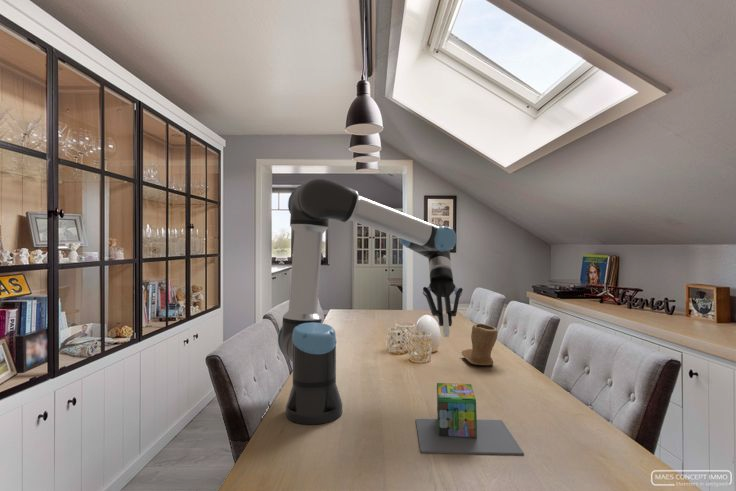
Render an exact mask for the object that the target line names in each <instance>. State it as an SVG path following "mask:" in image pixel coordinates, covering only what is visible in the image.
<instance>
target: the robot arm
mask: <svg viewBox="0 0 736 491" xmlns="http://www.w3.org/2000/svg"><path fill="white" fill-rule="evenodd" d="M287 208H288V211H289V214H290V220H289V227H290V228H291V229H292V230H293V232H294V233H293V234H294V236H293V245H292V246H293V248H292V262H291V273H290V286H289V287H290V288H289V300H288V302H289V303H288V310H287V312H285V313H284V314H283V315H282V324H281V328H280V329H279V331H278V334H277V343H278V348H279V350H280V351H281V353H282V355H284V357H285V358H286V359H288V360H289V361H290V362H291V363H292V386H291V389H290V392H289V396H288V399H287V402H286V405H285V417H286V419H288V420H289V421H291V422H292V423H296V424H299V425H300V424H301V425H321V424H325V423H330V422H333V421H335V420H338V418H340V417H341V416H342V414H343V402H342V399H341V396H340V393H339V392H340V391H339V388H338V386H337V378H336V377H337V338H336V336H337V335H336V331H335V329H334V328H333V327H332V326H331V325H329V324H326V323H322V316H321V315H320V313H318V307H319V305H318V304H319V303H318V301H319V290H320V289H319V288H320V278H321V276H320V275H321V264H322V263H321V262H322V251H323V250H322V248H323V234H324V233H325V232H326V231H328V229H329V221H330V220H336V221H340V222H343V223H348V222H350V221H351V222H353V223H356V224H359V225H362V226H363V227H367V228H370V229H373V230H376V231H379V232H382V233H384V234H386V235H387V234H388V235H390V236H393V237H396V238H398V241H399V243H400V245H402V246H404V247H405V248H407V249H409V250H412V251H414V252H415V253H417V254H419V255H421V256H423V257H424V258H427V259H428V265H429V266H428V268H429V284H428V285H429V286H427V287H426V286H424V287H423V288H422V295H424V297H425V298H426V301H427V304H428V306H429V309H430V313H431V316H433V317H437V319H438V325H439V327H442V334H443V338H449V336H450V327H452V325H453V318H452V317H456V316H457V313H458V312H457V311H458V307H459V301H460V298H461V296H462V295H463V294H462V293H463V290H464V289H463V287H459V288H458V287H456V284H455V282H454V277H453V268H452V261H451V260H452V259H451V251H450V250H452V249H454V247H455V246H456V243H457V233H456V232H455V230H454V229H453V228H452V227H450V226H443V225H442V226H438V225H435V224H433V223H430V222H427V221H424V220H422V219H419V218H417V217H414V216H413V215H410V214H407V213H405V212H402V211H399V210H397V209H394V208H392V207H390V206H387V205H384V204H381V203H379V202H377V201H374V200H371V199H368V198H367V197H363V196H362V195H359V193H358V190H355V189H353V188H350V187H348V186H346V185H343V184H341V183H338V182H336V181H333V180H330V179H325V178H314V179H310V180H309V181H307V182H306V183H303V184H301V185H298V186H297V187H295V188H294V189H293V191H292V192H291V194H290V195H289V197H288V201H287ZM431 292H432V293H431ZM453 293H454V295H455V297H454V301H453V302H454V303H453V308H451V307H452V305H451V298H450V296H451V295H452V294H453ZM432 294H433V295H435V296H436V298H435V299H436V303H437V304H435V301H434V299H433V295H432ZM442 298H444V304H445V313H443V312H444V311H443V300H442Z"/></svg>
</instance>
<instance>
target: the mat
mask: <svg viewBox="0 0 736 491" xmlns="http://www.w3.org/2000/svg"><path fill="white" fill-rule="evenodd" d="M415 425H416V430H417V438H418V442H419V443H418V445H419V450H420V454H454V455H455V454H461V455H501V456H502V455H507V456H508V455H509V456H514V455H515V456H524V455H525V453H524V450H522V448H521V446H520V445H519V444H518V441H517V440H516V439H515V437H514V436H513V435H512V433H511V431H510V430H509V429H508V427H507V426H506V424H505V423H504V420H502V419H477V438H465V437H447V436H438V418H415Z"/></svg>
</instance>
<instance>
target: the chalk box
mask: <svg viewBox="0 0 736 491" xmlns="http://www.w3.org/2000/svg"><path fill="white" fill-rule="evenodd" d="M436 405H437V406H436V412H437V416H436V417H437V419H438V436H447V437H465V438H477V420H478V418H477V417H478V416H477V399H476V396H475V392H474V389H473V385H472V384H471V383H448V382H447V383H445V382H437V383H436Z"/></svg>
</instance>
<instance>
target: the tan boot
mask: <svg viewBox="0 0 736 491" xmlns="http://www.w3.org/2000/svg"><path fill="white" fill-rule="evenodd" d="M471 327H472V328H471V334H470V335H471V336H470V337H471V344H472V345H471V346H472V348H470V349H469V348H468V349H464V350H462V351H461V352H460V353H461V355H462V356H463V357H464V358H465V359H466V360H467V362H469V363H470V364H472V365H476V366H492V365H494V361H493V358H492V357H491V354H492V351H493V348H494V346H495V344H496V341H497V339H498V329H497V328H496V327H495V326H492V325H489V324H487V323H480V322H477V323H476V322H475V323H474V324H473V325H472V326H471Z"/></svg>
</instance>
